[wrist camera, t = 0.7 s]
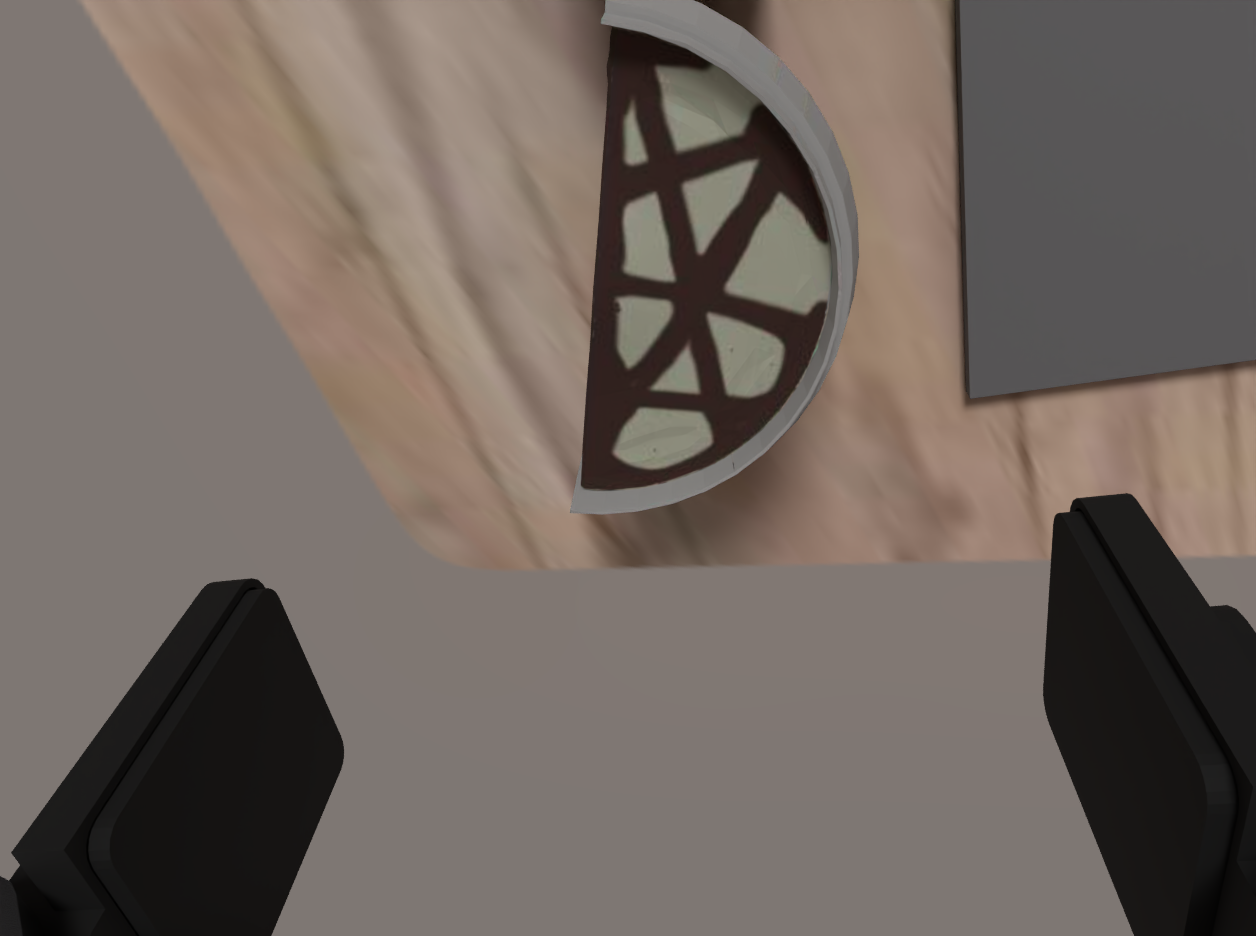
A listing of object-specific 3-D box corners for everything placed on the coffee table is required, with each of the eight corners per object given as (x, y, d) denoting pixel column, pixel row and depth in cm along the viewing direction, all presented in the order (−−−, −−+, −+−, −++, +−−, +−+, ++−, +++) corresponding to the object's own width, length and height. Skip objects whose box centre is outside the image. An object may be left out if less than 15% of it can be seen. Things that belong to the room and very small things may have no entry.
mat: (1586, -321, 22) (1607, -326, 21) (1434, 325, 30) (1447, 333, 29) (950, -172, 24) (955, -174, 24) (966, 390, 32) (970, 398, 32)
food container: (788, 382, 33) (812, 559, 24) (607, 362, 33) (568, 530, 24) (865, -24, 26) (935, 21, 18) (640, -47, 26) (602, -13, 18)
